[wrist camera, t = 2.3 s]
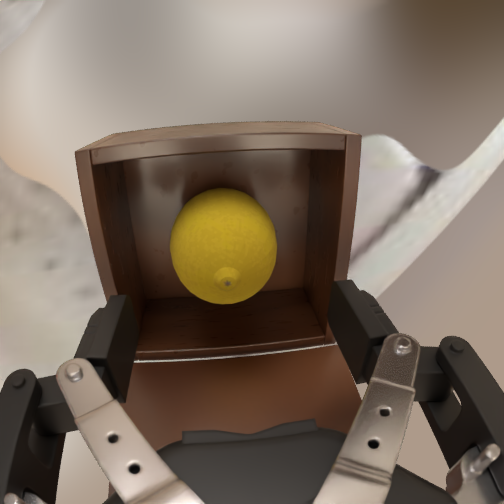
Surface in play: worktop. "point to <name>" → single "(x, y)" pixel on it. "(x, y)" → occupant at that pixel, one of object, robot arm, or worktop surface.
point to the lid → (241, 394)
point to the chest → (234, 177)
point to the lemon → (223, 246)
